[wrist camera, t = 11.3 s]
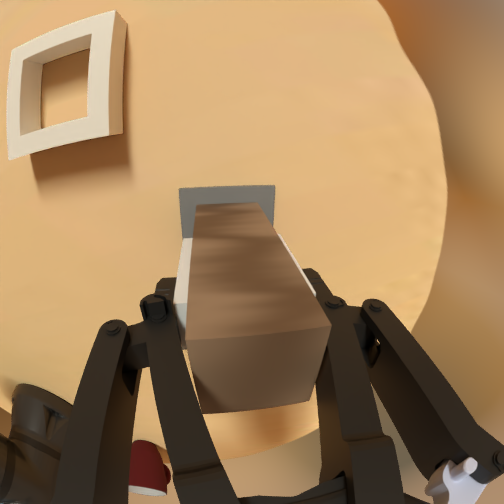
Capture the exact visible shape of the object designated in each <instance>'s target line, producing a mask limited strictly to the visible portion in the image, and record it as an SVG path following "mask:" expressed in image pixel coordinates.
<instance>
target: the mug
mask: <svg viewBox="0 0 504 504" xmlns="http://www.w3.org/2000/svg"><path fill="white" fill-rule="evenodd" d="M170 480H171V474H170V470H169V469H168V467H167V466H166V465H165V464H163V461H162V458H161V455H160V453H159V452H158V450H157V448H156V446H155V445H154V444H153V443H151V442H148V441H143V440H136V441H134V442H133V443H132V446H131V458H130V471H129V492H133V493H137V494H142V495H149V496H165V495H167V484H168V483H169V482H170Z"/></svg>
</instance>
